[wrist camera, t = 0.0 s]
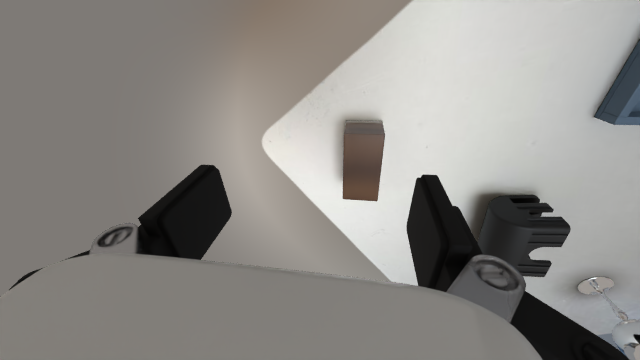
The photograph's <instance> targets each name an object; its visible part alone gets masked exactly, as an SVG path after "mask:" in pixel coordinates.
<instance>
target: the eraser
mask: <svg viewBox="0 0 640 360" xmlns="http://www.w3.org/2000/svg"><path fill="white" fill-rule="evenodd" d="M384 139H385V133H384V128H383V122H382V121H346V125H345V131H344V157H343V199H350V200H366V201H377V200H378V191H379V182H380V174H381V165H382V156H383V148H384Z"/></svg>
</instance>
